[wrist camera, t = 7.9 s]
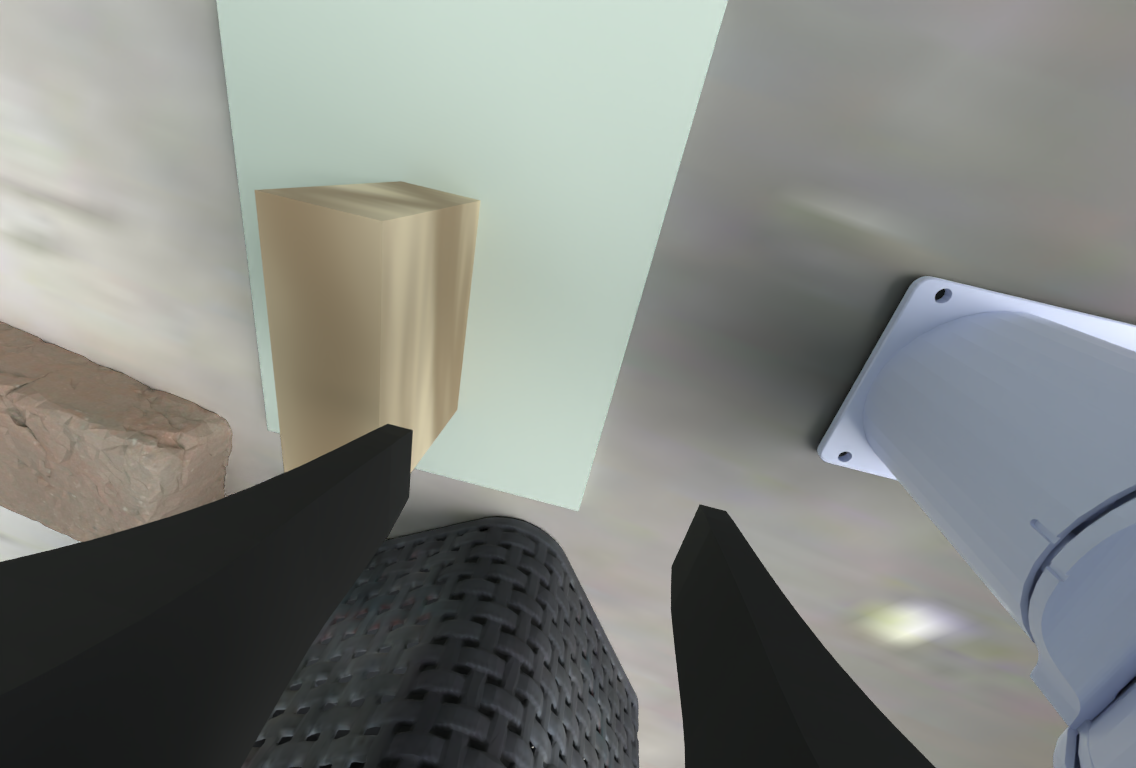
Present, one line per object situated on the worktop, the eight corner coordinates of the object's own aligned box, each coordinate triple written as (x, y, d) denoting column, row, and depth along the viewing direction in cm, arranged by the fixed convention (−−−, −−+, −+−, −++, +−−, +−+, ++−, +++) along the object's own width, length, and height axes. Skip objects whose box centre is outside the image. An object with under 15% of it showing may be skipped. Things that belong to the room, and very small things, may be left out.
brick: (237, 413, 23) (149, 466, 19) (228, 519, 27) (153, 584, 23) (-76, 276, 22) (-241, 301, 18) (-40, 407, 26) (-170, 452, 22)
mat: (725, 2, 13) (729, -5, 13) (579, 503, 22) (578, 511, 22) (218, -112, 14) (201, -123, 13) (276, 424, 23) (267, 430, 22)
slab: (480, 200, 16) (382, 221, 10) (457, 409, 20) (377, 518, 14) (401, 181, 16) (254, 190, 10) (393, 393, 20) (286, 493, 14)
